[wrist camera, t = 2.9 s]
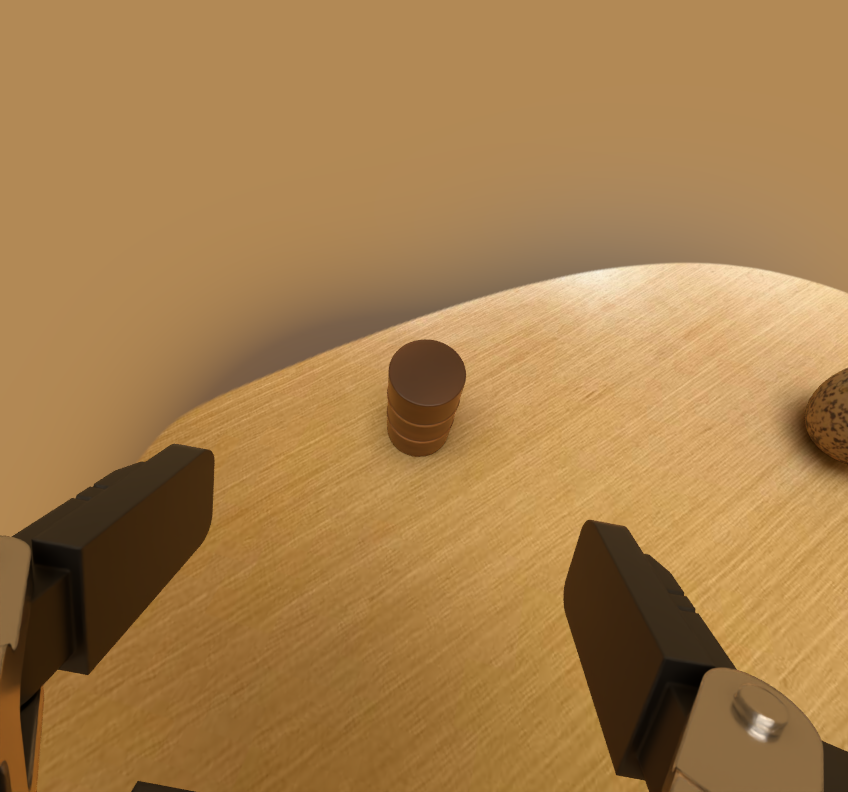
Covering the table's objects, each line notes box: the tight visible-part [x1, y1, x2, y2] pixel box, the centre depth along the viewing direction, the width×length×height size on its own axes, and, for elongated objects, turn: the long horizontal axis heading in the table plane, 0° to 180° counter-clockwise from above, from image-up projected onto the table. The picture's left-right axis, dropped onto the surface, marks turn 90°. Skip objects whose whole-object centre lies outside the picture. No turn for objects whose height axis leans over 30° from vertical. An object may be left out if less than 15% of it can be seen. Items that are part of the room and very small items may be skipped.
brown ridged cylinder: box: [387, 340, 466, 457], centre depth 30 cm, size 4×4×8 cm
